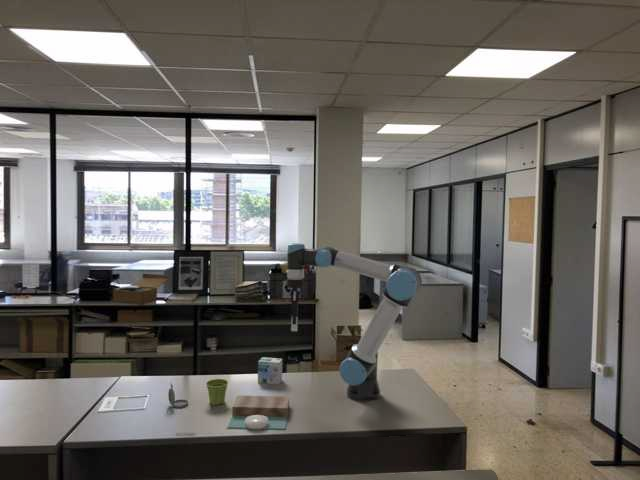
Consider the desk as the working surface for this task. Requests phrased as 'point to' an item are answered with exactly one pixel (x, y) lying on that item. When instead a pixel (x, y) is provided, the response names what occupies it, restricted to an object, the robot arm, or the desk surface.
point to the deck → (261, 406)
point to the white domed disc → (256, 422)
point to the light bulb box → (270, 370)
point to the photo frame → (111, 401)
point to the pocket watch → (178, 402)
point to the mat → (273, 423)
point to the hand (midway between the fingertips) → (294, 330)
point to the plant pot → (217, 390)
